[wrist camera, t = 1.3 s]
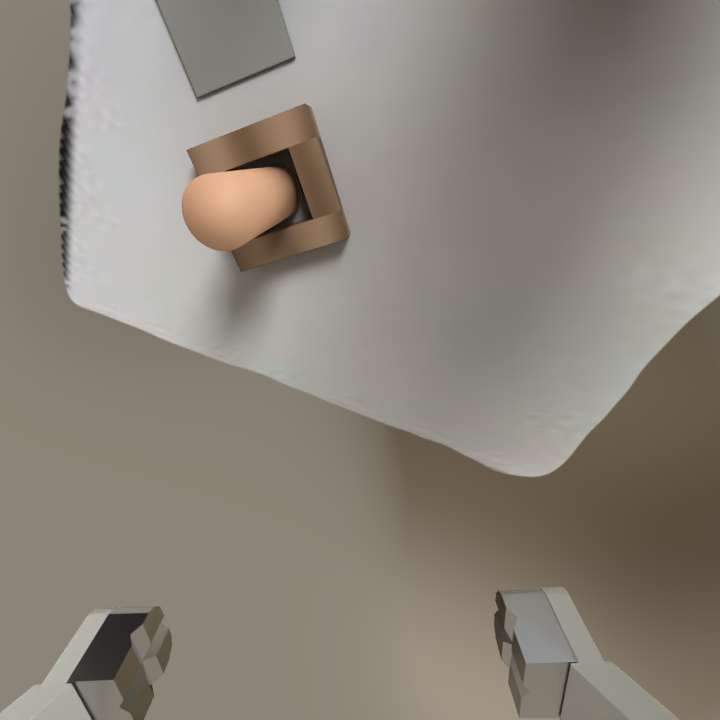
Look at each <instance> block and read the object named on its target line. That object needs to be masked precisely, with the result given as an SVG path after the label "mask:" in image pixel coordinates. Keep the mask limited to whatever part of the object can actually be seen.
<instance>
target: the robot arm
mask: <svg viewBox="0 0 720 720" xmlns="http://www.w3.org/2000/svg"><path fill="white" fill-rule="evenodd" d="M495 601H496V604H497V607H498V611H497V612H496V613H495V614H494V628H495V637H496V641H497V645H498V649H499V653H500V656H501V660H502V661H503V662H504V663H505V664H506V665H507V666H508V667H509V681H508V683H509V686H510V689H511V693H512V696H513V699H514V703H515V706H516V709H517V712H518V715H519V718H560V720H679V719H678V718H677V717H676V716H674V715H673V714H672V713H671V712H670V711H669V710H667V709H666V708H665V707H664V706H663V705H662V704H660V703H659V702H658V701H657V700H656V699H654V698H653V697H652V696H651V695H650V694H649V693H647V692H646V691H645V690H644V689H643V688H641V687H640V686H639V685H638V684H637V683H635V682H634V681H633V680H632V679H631V678H630V677H629V676H627V675H626V674H625V673H624V672H623V671H622V670H620V669H619V668H618V667H617V666H616V665H614V664H613V663H612V662H604V660H603V658H602V657H601V655H600V653H599V651H598V649H597V647H596V645H595V643H594V641H593V640H592V638H591V636H590V634H589V632H588V630H587V628H586V626H585V624H584V622H583V621H582V619H581V617H580V615H579V613H578V611H577V609H576V608H575V605H574V604H573V602H572V600H571V598H570V596H569V594H568V592H567V591H566V590H565V589H564V588H563V587H551V588H539V587H538V588H522V589H506V590H498V591H497V592H496V599H495ZM163 617H164V615H163V612H162V610H161V608H160V607H122V608H118V607H116V608H96V609H95V610H93V611H92V612H91V613H90V614H89V615H88V616H87V617H86V619H85V620H84V622H83V623H82V625H81V626H80V628H79V629H78V631H77V632H76V634H75V635H74V637H73V638H72V640H71V641H70V643H69V644H68V646H67V647H66V649H65V650H64V651H63V653H62V655H61V656H60V657H59V659H58V660H57V662H56V663H55V665H54V666H53V668H52V669H51V671H50V672H49V674H48V675H47V677H46V678H45V680H44V681H43V683H42V684H38V685H34V686H33V687H32V688H30V689H29V690H28V691H27V692H25V693H24V694H23V695H22V696H21V697H19V698H18V699H17V700H16V701H14V702H13V703H12V704H11V705H10V706H8V707H7V708H6V709H5V710H3V711H2V712H1V713H0V720H144V718H145V716H146V713H147V711H148V709H149V706H150V704H151V702H152V699H153V697H154V692H153V687H152V685H153V684H154V683H155V682H156V681H157V680H158V678H159V677H160V676H162V675H163V673H164V671H165V669H166V666H167V663H168V661H169V657H170V652H171V647H172V638H171V633H170V630H169V628H168V627H166V626H165V625H164V624H162V623H161V621H162V619H163Z"/></svg>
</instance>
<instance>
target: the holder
mask: <svg viewBox="0 0 720 720" xmlns="http://www.w3.org/2000/svg"><path fill="white" fill-rule="evenodd" d="M288 150H289V151H290V154H291V157H292V160H293V163H294V166H295V168H296V171H297V174H298V177H299V180H300V183H301V186H302V189H303V191H304V194H305V197H306V200H307V203H308V206H309V209H310V212H311V215H312V218H309V219H306V220H303V221H300V222H297V223H294V224H291V225H288V226H285V227H282V228H278V229H275V230H272V231H269V232H266V233H263V234H260V235H258V236H257V237H255V238H254V239H252V240H250V241H249V242H247V243H245V244H244V245H242V246H241V247H239V248H237V249H234V250H232V253H233V255H234V257H235V259H236V261H237V264H238V266H239V268H240V270H241V272H242V271H245V270H248V269H251V268H254V267H258V266H261V265H264V264H267V263H270V262H274V261H277V260H280V259H283V258H286V257H290V256H293V255H296V254H299V253H302V252H306V251H309V250H312V249H315V248H318V247H322V246H325V245H328V244H331V243H334V242H338V241H341V240H344V239H347V238H348V237H349V235H350V231H349V227H348V224H347V221H346V218H345V215H344V211H343V208H342V205H341V202H340V199H339V195H338V192H337V189H336V186H335V183H334V179H333V176H332V173H331V170H330V166H329V163H328V160H327V157H326V154H325V150H324V147H323V144H322V141H321V138H320V134H319V131H318V128H317V125H316V122H315V118H314V115H313V112H312V109H311V107H310V106H308V105H306V104H303V105H300V106H297V107H295V108H292V109H290V110H287V111H285V112H282V113H280V114H277V115H274V116H272V117H269V118H267V119H264V120H262V121H259V122H257V123H254V124H252V125H249V126H246V127H244V128H241V129H239V130H236V131H234V132H231V133H229V134H226V135H224V136H221V137H218V138H216V139H213V140H211V141H208V142H206V143H203V144H201V145H198V146H196V147H193V148H190V149H188V150H187V152H188V155H189V157H190V159H191V161H192V163H193V166H194V168H195V170H196V172H197V175H198V176H200V175H204V174H209V173H218V172H227V171H236V170H237V169H239V168H242V167H245V166H248V165H250V164H253V163H256V162H258V161H261V160H264V159H266V158H269V157H272V156H275V155H277V154H280V153H283V152H285V151H288Z"/></svg>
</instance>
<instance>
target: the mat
mask: <svg viewBox="0 0 720 720" xmlns="http://www.w3.org/2000/svg"><path fill="white" fill-rule="evenodd" d="M157 3H158V5H159V7H160V10H161V12H162V15H163V17H164V19H165V22H166V24H167V27H168V29H169V31H170V34H171V36H172V39H173V41H174V43H175V46H176V48H177V51H178V53H179V55H180V58H181V60H182V63H183V65H184V67H185V70H186V72H187V75H188V77H189V79H190V82H191V84H192V87H193V89H194V91H195V94H196V96H197V97H198V98H199V97H202V96H204V95H206V94H209V93H211V92H214V91H216V90H218V89H221V88H223V87H226V86H228V85H230V84H233V83H235V82H237V81H240V80H242V79H245V78H247V77H249V76H252V75H254V74H256V73H259V72H261V71H264V70H266V69H268V68H271V67H273V66H276V65H278V64H280V63H283V62H285V61H287V60H290V59H292V58H295V54H294V51H293V48H292V45H291V41H290V38H289V35H288V32H287V29H286V25H285V22H284V19H283V16H282V13H281V9H280V6H279V3H278V0H157Z"/></svg>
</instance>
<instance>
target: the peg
mask: <svg viewBox="0 0 720 720" xmlns="http://www.w3.org/2000/svg"><path fill="white" fill-rule="evenodd" d="M301 197H302V193H301V187H300V184H299V182H298V180H297V178H296V177H295V176H294V175H293V174H292V173H291V172H290V171H289V170H287V169H285V168H283V167H278V166H272V167H263V168H254V169H245V170H236V171H227V172H218V173H209V174H204V175H200V176H198V177H196V178H195V179H193V180H192V181H191V182H190V183H189V185H188V186H187V188H186V189H185V192H184V194H183V198H182V213H183V217H184V220H185V223H186V225H187V227H188V229H189V230H190V232H191V233H192V234H193V236H194V237H195V238H196V239H197V240H198V241H199V242H201V243H202V244H204V245H205V246H207V247H209V248H211V249H214V250H219V251H231V250H234V249H237V248H239V247H241V246H242V245H244V244H245V243H247V242H249V241H250V240H252V239H254V238H255V237H257V236H258V235H260V234H262V233H263V232H265V231H266V230H268V229H270V228H271V227H273V226H275V225H276V224H278V223H279V222H281V221H283V220H284V219H286V218H287V217H289V216H291V215H292V214H293V213H295V212H296V210H297V209H298V207H299V205H300V203H301Z"/></svg>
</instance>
